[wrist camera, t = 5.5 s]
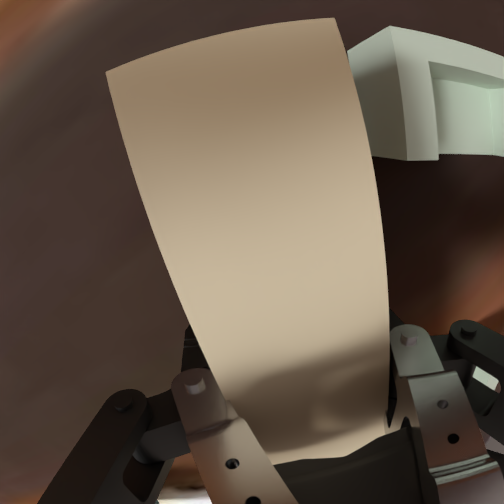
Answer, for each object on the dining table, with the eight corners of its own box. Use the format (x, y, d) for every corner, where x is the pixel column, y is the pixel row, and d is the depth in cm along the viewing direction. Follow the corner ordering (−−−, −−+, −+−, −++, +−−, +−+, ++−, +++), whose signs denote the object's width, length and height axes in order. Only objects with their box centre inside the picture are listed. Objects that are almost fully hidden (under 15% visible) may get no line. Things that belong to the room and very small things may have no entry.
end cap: (347, 51, 12) (389, 25, 8) (488, 74, 12) (536, 71, 9) (359, 154, 13) (407, 160, 10) (496, 153, 14) (544, 162, 10)
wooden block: (162, 107, 10) (105, 72, 4) (273, 77, 10) (334, 17, 4) (274, 433, 16) (294, 522, 10) (341, 412, 16) (377, 495, 10)
